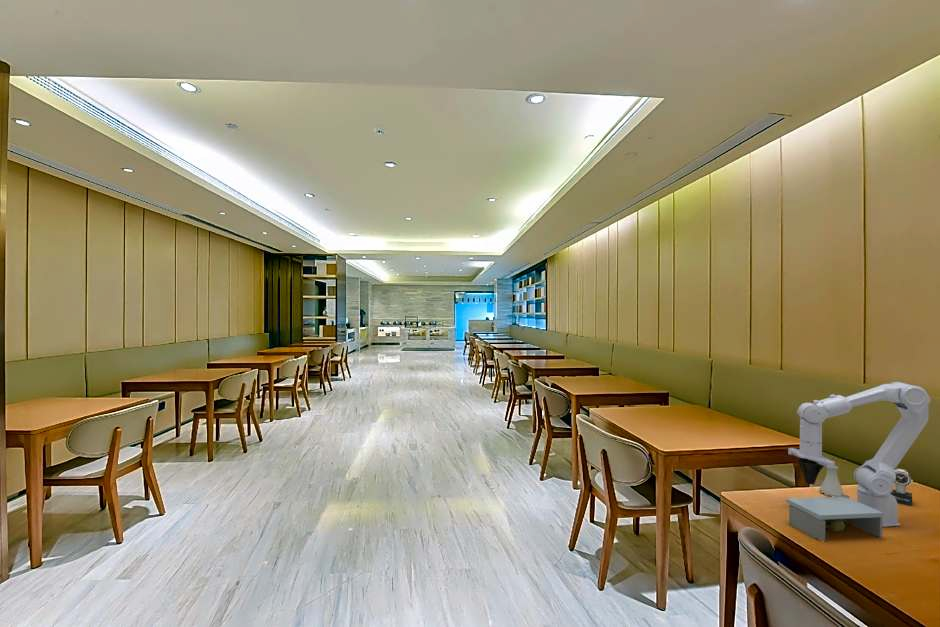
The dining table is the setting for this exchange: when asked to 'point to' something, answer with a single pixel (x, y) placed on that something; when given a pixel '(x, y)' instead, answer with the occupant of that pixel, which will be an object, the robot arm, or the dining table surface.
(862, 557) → the dining table surface
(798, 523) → the grey angular open frame
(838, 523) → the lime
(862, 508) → the cover
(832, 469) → the flask
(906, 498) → the watch
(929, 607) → the dining table surface
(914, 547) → the dining table surface
